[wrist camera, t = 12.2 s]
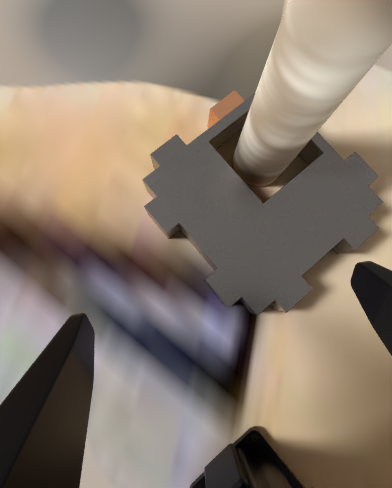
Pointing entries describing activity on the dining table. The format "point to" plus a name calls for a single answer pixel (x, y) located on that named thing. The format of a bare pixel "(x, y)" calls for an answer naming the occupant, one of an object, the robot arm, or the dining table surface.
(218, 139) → the pixel heart plate
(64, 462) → the robot arm
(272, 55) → the pin
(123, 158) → the dining table surface
